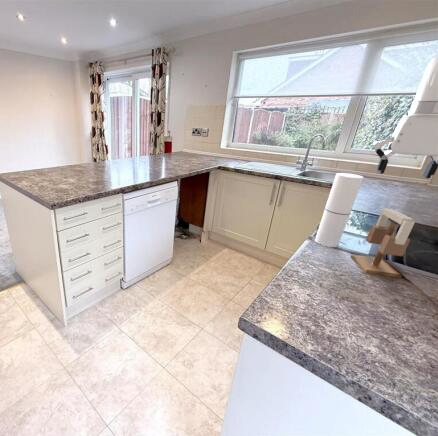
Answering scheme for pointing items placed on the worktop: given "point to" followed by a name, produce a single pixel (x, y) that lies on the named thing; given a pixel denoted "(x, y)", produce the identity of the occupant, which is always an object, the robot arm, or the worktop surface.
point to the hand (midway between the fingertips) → (402, 175)
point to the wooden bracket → (390, 242)
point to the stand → (378, 259)
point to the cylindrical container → (338, 209)
